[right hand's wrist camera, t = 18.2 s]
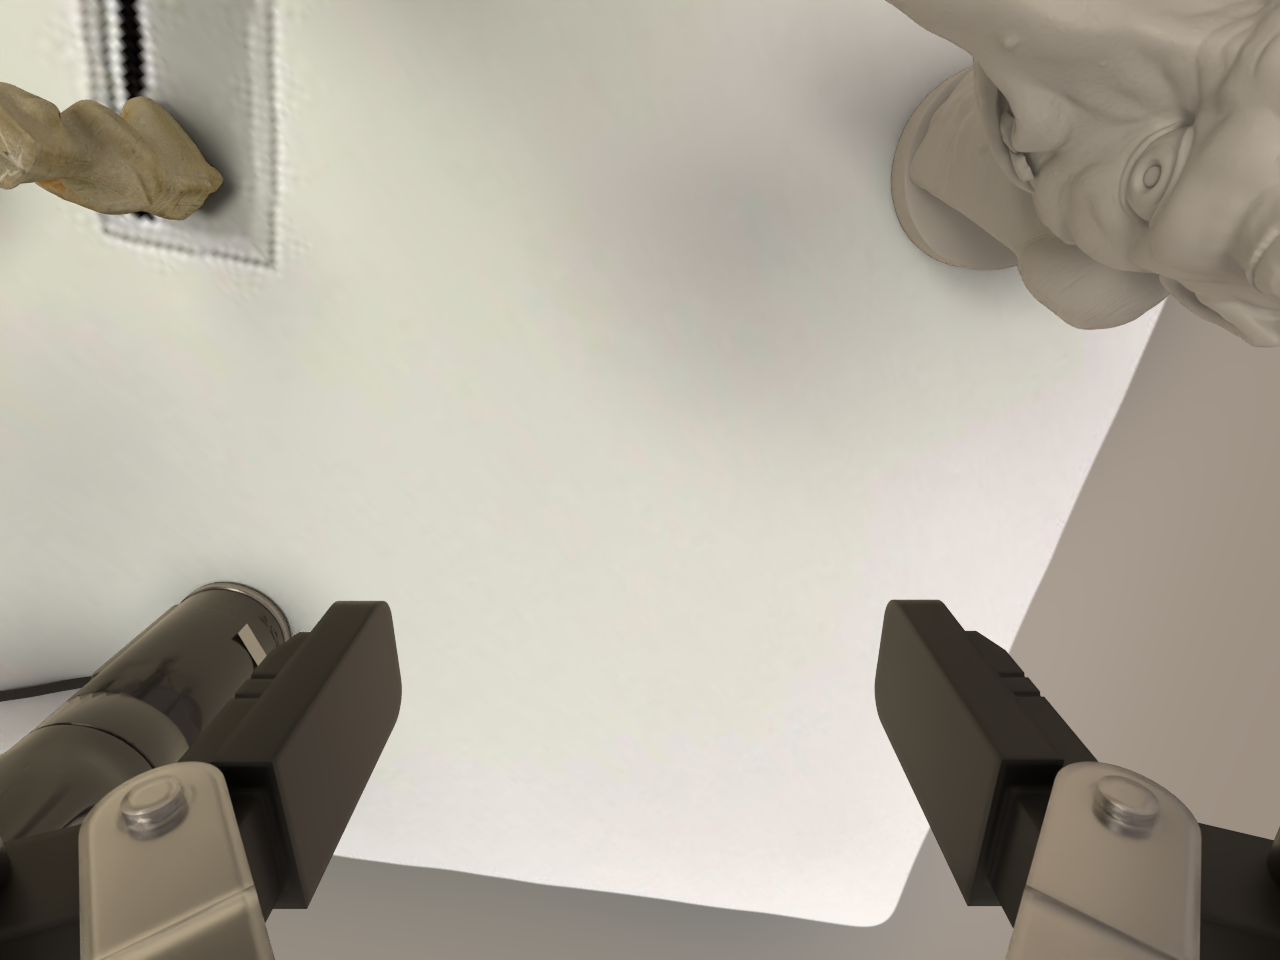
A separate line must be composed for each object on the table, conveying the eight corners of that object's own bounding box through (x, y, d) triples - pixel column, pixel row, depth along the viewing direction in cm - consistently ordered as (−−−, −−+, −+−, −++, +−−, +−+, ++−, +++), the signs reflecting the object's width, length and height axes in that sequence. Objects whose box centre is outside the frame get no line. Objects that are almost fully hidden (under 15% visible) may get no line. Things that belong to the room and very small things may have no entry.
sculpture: (166, 84, 45) (-46, 27, 31) (249, 181, 48) (86, 169, 33) (107, 143, 47) (-121, 113, 33) (191, 235, 49) (10, 245, 35)
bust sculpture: (841, -109, 42) (1562, -1252, 9) (1148, 106, 46) (2409, -154, 13) (706, 153, 47) (859, 17, 14) (993, 325, 51) (1627, 530, 18)
